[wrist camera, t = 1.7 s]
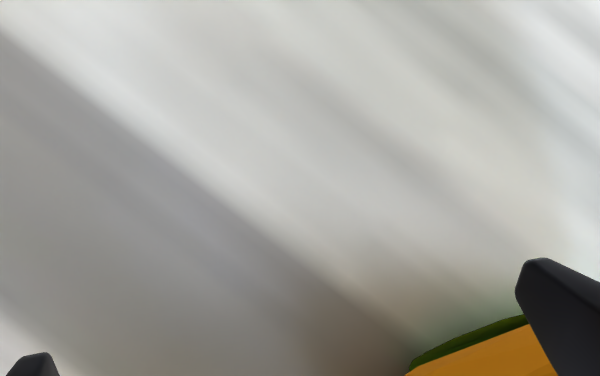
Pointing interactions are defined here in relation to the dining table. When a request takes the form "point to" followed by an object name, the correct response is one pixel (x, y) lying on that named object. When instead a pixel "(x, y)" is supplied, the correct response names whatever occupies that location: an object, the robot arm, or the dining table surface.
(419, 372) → the corn
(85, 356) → the dining table surface
